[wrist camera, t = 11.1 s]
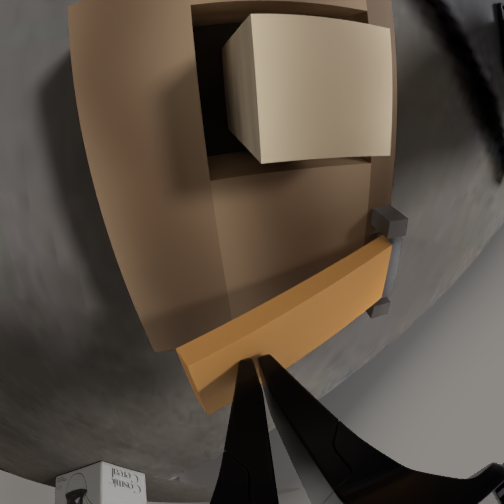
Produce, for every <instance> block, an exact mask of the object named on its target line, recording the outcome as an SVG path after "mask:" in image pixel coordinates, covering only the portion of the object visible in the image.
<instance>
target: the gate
mask: <svg viewBox="0 0 504 504" xmlns="http://www.w3.org/2000/svg"><path fill="white" fill-rule="evenodd" d="M402 242H403V238H402V237H401V236H399V237H394V238H389V239H387V238H386V237H385V236H384V235H382V234H381V233H379V234H378V236H377V238H376V239H375V240H373V241H372V242H370V243H368V244H367V245H365V246H363V247H362V248H360V249H358V250H357V251H355V252H353V253H352V254H350V255H348V256H347V257H345V258H343V259H341V260H340V261H338V262H336V263H335V264H333V265H331V266H330V267H328V268H326V269H324V270H323V271H321V272H319V273H317V274H316V275H314V276H312V277H310V278H309V279H307V280H305V281H303V282H302V283H300V284H298V285H296V286H294V287H293V288H291V289H289V290H287V291H285V292H284V293H282V294H280V295H278V296H276V297H275V298H273V299H271V300H269V301H267V302H265V303H264V304H262V305H260V306H258V307H256V308H254V309H252V310H251V311H249V312H247V313H245V314H243V315H241V316H239V317H237V318H235V319H233V320H232V321H230V322H228V323H226V324H224V325H222V326H220V327H218V328H216V329H214V330H212V331H210V332H208V333H206V334H204V335H202V336H200V337H198V338H196V339H194V340H192V341H190V342H188V343H186V344H184V345H182V346H180V347H178V348H176V351H177V354H178V356H179V359H180V361H181V363H182V366H183V368H184V371H185V373H186V375H187V378H188V380H189V382H190V385H191V387H192V389H193V391H194V394H195V396H196V398H197V400H198V402H199V403H200V404H201V406H202V407H203V409H204V410H205V412H206V413H207V414H208V415H210V414H211V413H213V412H215V411H217V410H219V409H220V408H222V407H224V406H226V405H227V404H229V403H231V402H232V401H233V395H234V389H235V383H236V377H237V372H238V366H239V361H240V360H244V359H248V358H251V359H252V360H253V363H254V366H255V369H256V372H257V375H258V378H259V381H260V384H262V382H261V378H260V374H259V367H258V357H259V356H262V355H266V354H270V355H272V356H273V357H274V358H275V359H276V360H277V361H278V362H279V363H280V364H281V365H282V366H283V367H284V368H285V369H286V368H287V367H289V366H290V365H292V364H293V363H295V362H296V361H298V360H299V359H301V358H302V357H304V356H305V355H307V354H308V353H310V352H311V351H312V350H314V349H315V348H317V347H318V346H319V345H321V344H322V343H324V342H325V341H326V340H328V339H329V338H330V337H332V336H333V335H334V334H336V333H337V332H339V331H340V330H341V329H343V328H344V327H345V326H346V325H348V324H349V323H350V322H352V321H353V320H354V319H356V318H357V317H358V316H359V315H361V314H362V313H363V312H364V311H366V310H367V309H368V308H369V307H371V306H372V305H373V304H374V303H376V302H377V301H378V300H379V299H380V298H384V297H388V296H389V295H390V294H391V292H392V288H393V284H394V279H395V275H396V271H397V266H398V261H399V257H400V252H401V247H402Z"/></svg>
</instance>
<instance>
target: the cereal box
mask: <svg viewBox="0 0 504 504" xmlns="http://www.w3.org/2000/svg"><path fill="white" fill-rule="evenodd" d="M55 504H147V500H146V486H145V474H144V473H141V472H137V471H133V470H130V469H126V468H123V467H120V466H116V465H113V464H110V463H107V462H104V461H100V462H98V463H95V464H92V465H90V466H87V467H84V468H81V469H78V470H76V471H73V472H70V473H67V474H63V475H60V476H57V477H56V489H55Z"/></svg>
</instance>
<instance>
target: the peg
mask: <svg viewBox="0 0 504 504" xmlns="http://www.w3.org/2000/svg"><path fill="white" fill-rule="evenodd" d="M221 53H222V65H223V77H224V88H225V100H226V111H227V122H228V129H229V130H230V131H231V132H232V133H233V134H234V135H235V136H236V138H237V139H238V140H239V141H240V142H241V143H242V144H243V145H244V146H245V147H246V148H247V149H248V150H249V151H250V152H251V153H252V154H253V155H254V156H255V158H256V159H257V160H258V161H259V162H260V163H261V164H264V163H274V162H284V161H295V160H308V159H322V158H338V157H360V156H390V149H391V131H392V53H391V36H390V29H389V28H385V27H380V26H376V25H371V24H366V23H360V22H354V21H348V20H342V19H334V18H326V17H317V16H306V15H291V14H250V15H249V16H248V17H247V19H246V20H245V21H244V22H243V23H242V24H241V25H240V27H239V28H238V29H237V30H236V31H235V33H234V34H233V35H232V36H231V37H230V39H229V40H228V41H227V42H226V44H225V45H224V46H223V47H222V49H221Z"/></svg>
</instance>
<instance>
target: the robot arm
mask: <svg viewBox="0 0 504 504" xmlns="http://www.w3.org/2000/svg"><path fill="white" fill-rule="evenodd" d="M497 6H498V13H499V19H500V27H501V36H502V46H503V62H504V3H498V4H497ZM258 367H259V374H260V378H261V382H262V385H263V389H264V393H265V396H266V400H267V403H268V407H269V410H270V413H271V416H272V419H273V421H274V424H275V426H276V428H277V430H278V432H279V435H280V437H281V439H282V441H283V444H284V446H285V448H286V450H287V453H288V455H289V457H290V459H291V461H292V463H293V466H294V468H295V470H296V472H297V474H298V476H299V478H300V480H301V483H302V485H303V487H304V489H305V491H306V493H307V495H308V497H309V499H310V501H311V503H312V504H504V463H503V464H502V465H500V464H497V463H491V464H489V465H487V466H486V467H484V468H483V469H481V470H480V471H478V472H477V473H476V474H474V475H472V476H471V477H469V478H468V479H458V478H451V477H445V476H439V475H434V474H429V473H424V472H419V471H415V470H412V469H409V468H407V467H405V466H403V465H401V464H399V463H397V462H396V461H394V460H392V459H391V458H389V457H388V456H386V455H385V454H383V453H381V452H380V451H378V450H376V449H375V448H374V447H372V446H370V445H369V444H368V443H366V442H365V441H364V440H362V439H361V438H359V437H358V436H357V435H356V434H354V433H353V432H352V431H351V430H350V429H348V428H347V427H346V426H345V425H344V424H343V423H342V422H341V421H339V420H338V419H337V418H336V417H335V416H334V415H333V414H332V413H331V412H330V411H329V410H327V409H326V408H325V407H324V406H323V405H322V404H321V403H320V402H319V401H318V400H317V399H316V398H315V397H314V396H313V395H312V394H310V393H309V392H308V391H307V390H306V389H305V388H304V387H303V386H302V385H301V384H300V383H299V382H298V381H297V380H296V379H295V378H294V377H293V376H292V375H291V374H290V373H289V372H288V371H287V370H286V369H285V368H284V367H283V366H282V365H281V364H280V363H279V362H278V361H277V360H276V359H275V358H274V357H273V356H272V355H270V354H266V355H262V356H259V357H258ZM338 421H339V422H338ZM224 451H225V452H223V458H222V463H221V468H220V472H219V477H218V480H217V484H216V487H215V490H214V493H213V496H212V499H211V501H210V504H279V502H278V496H277V488H276V482H275V475H274V468H273V461H272V454H271V447H270V440H269V433H268V426H267V418H266V411H265V404H264V397H263V391H262V387H261V384H260V381H259V378H258V375H257V372H256V369H255V366H254V363H253V360H252V359H251V358H248V359H244V360H240V361H239V366H238V372H237V377H236V383H235V389H234V395H233V401H232V407H231V413H230V418H229V424H228V430H227V436H226V442H225V447H224Z"/></svg>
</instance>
